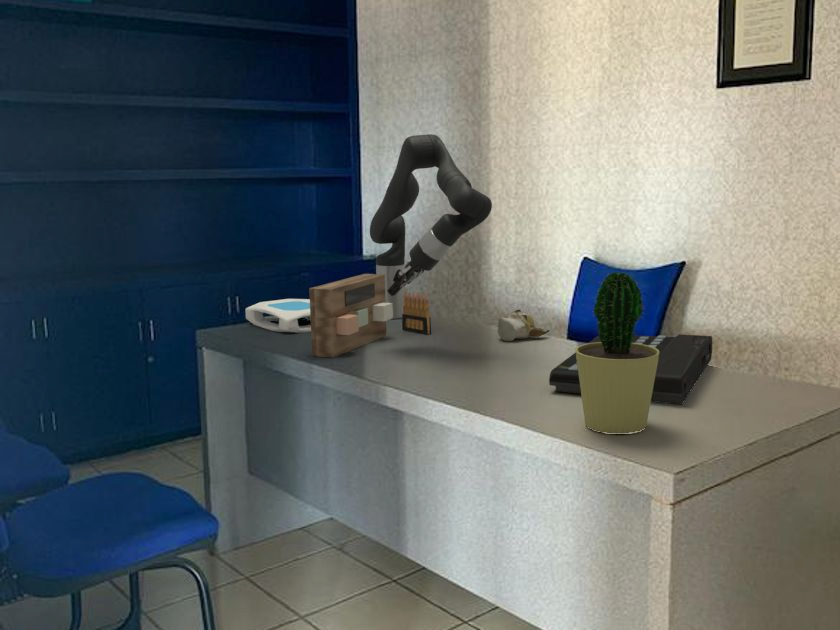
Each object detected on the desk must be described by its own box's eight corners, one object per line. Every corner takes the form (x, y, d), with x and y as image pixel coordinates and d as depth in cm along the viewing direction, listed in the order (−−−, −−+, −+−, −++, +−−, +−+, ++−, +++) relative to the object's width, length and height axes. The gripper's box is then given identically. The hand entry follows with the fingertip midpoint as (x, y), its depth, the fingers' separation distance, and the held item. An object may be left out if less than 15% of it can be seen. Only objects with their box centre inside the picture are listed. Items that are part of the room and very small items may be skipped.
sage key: (341, 326, 237) (340, 310, 236) (351, 322, 242) (350, 307, 241) (358, 327, 234) (358, 311, 234) (368, 323, 239) (367, 308, 238)
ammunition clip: (431, 334, 253) (430, 293, 251) (427, 335, 252) (426, 294, 249) (406, 329, 260) (405, 290, 258) (401, 330, 259) (400, 291, 257)
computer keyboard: (601, 352, 227) (601, 327, 226) (711, 361, 215) (712, 334, 214) (549, 395, 187) (549, 365, 186) (681, 408, 175) (682, 376, 174)
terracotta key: (330, 333, 227) (329, 317, 226) (340, 329, 232) (340, 313, 231) (348, 335, 224) (347, 318, 224) (358, 331, 229) (358, 315, 228)
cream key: (367, 320, 245) (366, 305, 244) (376, 317, 249) (375, 302, 249) (384, 321, 242) (383, 306, 241) (392, 318, 247) (392, 303, 246)
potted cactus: (557, 427, 163) (559, 270, 158) (603, 409, 174) (606, 262, 169) (628, 444, 153) (632, 277, 147) (672, 425, 163) (677, 267, 158)
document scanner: (287, 335, 256) (286, 315, 255) (244, 322, 278) (243, 303, 276) (347, 326, 268) (346, 306, 267) (302, 314, 290) (301, 296, 289)
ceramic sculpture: (487, 308, 242) (526, 305, 251) (486, 338, 244) (524, 334, 252) (513, 314, 234) (552, 310, 243) (511, 345, 235) (550, 340, 244)
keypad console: (312, 355, 228) (309, 288, 224) (366, 334, 254) (364, 273, 251) (334, 357, 225) (331, 289, 222) (387, 335, 251) (385, 274, 248)
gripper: (432, 236, 230) (392, 280, 238) (410, 240, 219) (369, 286, 226) (450, 256, 229) (410, 299, 236) (429, 262, 217) (388, 307, 225)
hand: (390, 293), depth 231 cm, fingers closed
